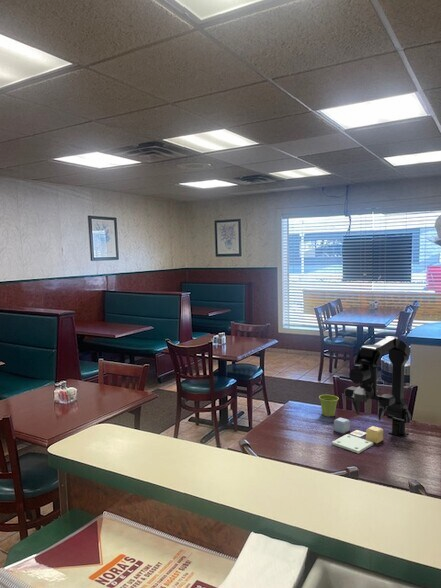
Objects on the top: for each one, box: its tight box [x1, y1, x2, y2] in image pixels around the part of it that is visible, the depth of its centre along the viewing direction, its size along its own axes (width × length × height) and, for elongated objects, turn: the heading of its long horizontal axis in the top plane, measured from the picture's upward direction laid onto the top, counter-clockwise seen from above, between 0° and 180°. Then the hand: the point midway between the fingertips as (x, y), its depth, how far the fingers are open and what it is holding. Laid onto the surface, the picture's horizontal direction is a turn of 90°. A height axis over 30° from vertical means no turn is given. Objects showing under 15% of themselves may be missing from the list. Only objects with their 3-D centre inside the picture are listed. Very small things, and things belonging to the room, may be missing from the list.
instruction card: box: [349, 429, 366, 438], centre depth 191 cm, size 6×5×1 cm
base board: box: [331, 433, 374, 455], centre depth 180 cm, size 12×12×1 cm
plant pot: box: [318, 394, 340, 418], centre depth 214 cm, size 9×9×9 cm
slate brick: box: [333, 417, 351, 435], centre depth 194 cm, size 5×5×5 cm
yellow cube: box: [365, 425, 384, 444], centre depth 184 cm, size 5×5×5 cm
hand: (368, 417), depth 172 cm, fingers open, 9 cm apart
